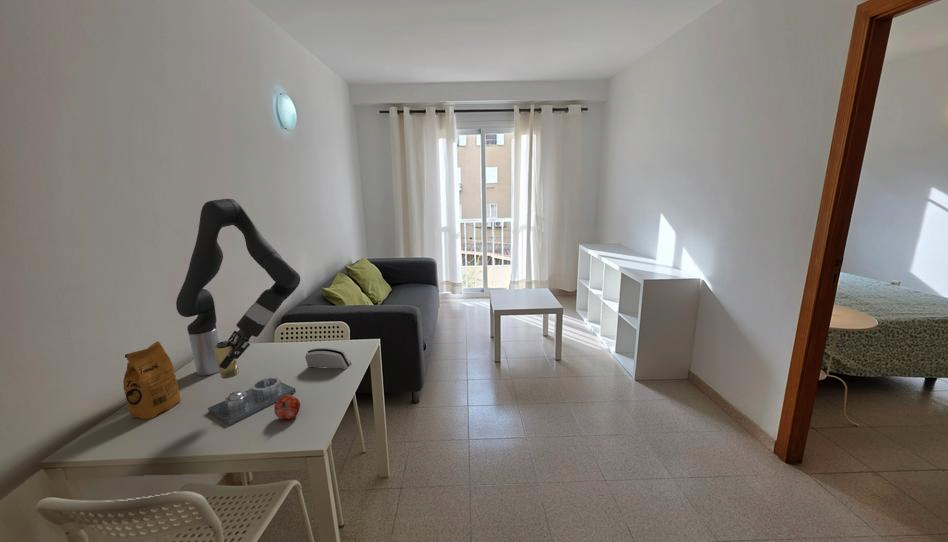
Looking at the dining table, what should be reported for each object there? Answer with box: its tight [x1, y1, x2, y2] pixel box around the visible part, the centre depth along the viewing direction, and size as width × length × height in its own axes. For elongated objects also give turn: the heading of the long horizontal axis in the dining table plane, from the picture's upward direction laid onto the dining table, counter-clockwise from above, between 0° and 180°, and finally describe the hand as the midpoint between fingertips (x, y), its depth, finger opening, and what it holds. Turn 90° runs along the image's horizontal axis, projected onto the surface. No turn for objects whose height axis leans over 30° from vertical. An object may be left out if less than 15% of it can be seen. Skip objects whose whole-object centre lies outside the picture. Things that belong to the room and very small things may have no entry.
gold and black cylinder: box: [215, 340, 240, 380], centre depth 124 cm, size 5×5×11 cm
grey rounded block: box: [304, 346, 352, 370], centre depth 154 cm, size 17×5×10 cm, turn 81°
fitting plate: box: [207, 376, 297, 426], centre depth 131 cm, size 14×22×6 cm, turn 147°
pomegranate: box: [274, 394, 301, 420], centre depth 121 cm, size 7×7×10 cm
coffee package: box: [122, 341, 181, 420], centre depth 127 cm, size 10×12×22 cm
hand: (221, 364), depth 123 cm, fingers closed on gold and black cylinder, 5 cm apart
